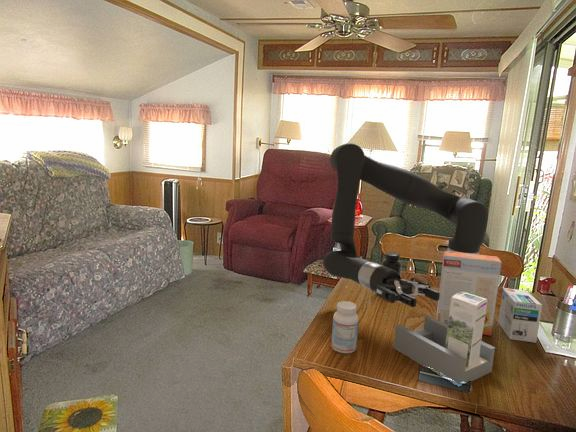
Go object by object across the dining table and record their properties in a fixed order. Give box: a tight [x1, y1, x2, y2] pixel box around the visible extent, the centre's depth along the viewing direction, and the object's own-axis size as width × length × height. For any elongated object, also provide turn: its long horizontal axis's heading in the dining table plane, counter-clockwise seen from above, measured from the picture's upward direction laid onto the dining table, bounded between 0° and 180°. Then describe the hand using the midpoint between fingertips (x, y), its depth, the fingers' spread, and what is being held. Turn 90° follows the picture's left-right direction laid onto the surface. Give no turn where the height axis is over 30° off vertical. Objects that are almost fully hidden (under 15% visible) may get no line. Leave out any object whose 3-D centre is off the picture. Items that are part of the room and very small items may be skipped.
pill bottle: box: [330, 300, 360, 354], centre depth 96 cm, size 6×6×11 cm
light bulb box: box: [497, 287, 543, 343], centre depth 109 cm, size 11×7×11 cm, turn 168°
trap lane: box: [393, 315, 496, 384], centre depth 94 cm, size 12×18×6 cm, turn 32°
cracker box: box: [435, 250, 502, 337], centre depth 109 cm, size 14×6×21 cm, turn 71°
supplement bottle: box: [381, 251, 403, 278], centre depth 139 cm, size 7×7×12 cm
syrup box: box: [445, 291, 487, 367], centre depth 88 cm, size 6×6×14 cm
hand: (427, 300), depth 96 cm, fingers open, 8 cm apart
